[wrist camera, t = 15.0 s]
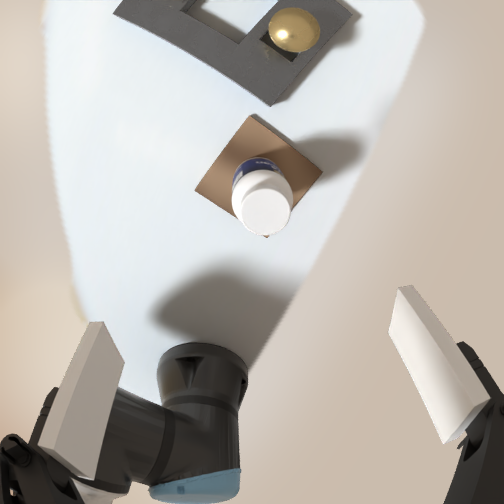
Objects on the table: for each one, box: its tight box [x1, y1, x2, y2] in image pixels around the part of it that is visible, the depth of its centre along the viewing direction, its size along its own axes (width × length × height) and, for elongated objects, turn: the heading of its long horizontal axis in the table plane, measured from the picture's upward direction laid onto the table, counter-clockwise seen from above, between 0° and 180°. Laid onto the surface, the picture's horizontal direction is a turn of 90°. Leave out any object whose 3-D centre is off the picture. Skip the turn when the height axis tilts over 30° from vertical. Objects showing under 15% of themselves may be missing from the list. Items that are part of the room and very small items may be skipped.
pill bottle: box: [232, 157, 293, 235], centre depth 28 cm, size 5×5×10 cm
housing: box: [113, 0, 353, 107], centre depth 22 cm, size 14×20×2 cm
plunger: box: [268, 7, 320, 52], centre depth 22 cm, size 4×4×4 cm
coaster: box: [195, 116, 322, 238], centre depth 32 cm, size 10×10×1 cm
